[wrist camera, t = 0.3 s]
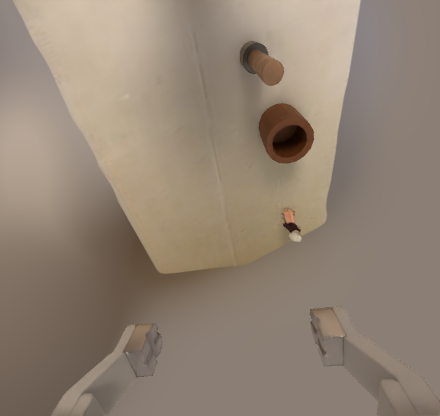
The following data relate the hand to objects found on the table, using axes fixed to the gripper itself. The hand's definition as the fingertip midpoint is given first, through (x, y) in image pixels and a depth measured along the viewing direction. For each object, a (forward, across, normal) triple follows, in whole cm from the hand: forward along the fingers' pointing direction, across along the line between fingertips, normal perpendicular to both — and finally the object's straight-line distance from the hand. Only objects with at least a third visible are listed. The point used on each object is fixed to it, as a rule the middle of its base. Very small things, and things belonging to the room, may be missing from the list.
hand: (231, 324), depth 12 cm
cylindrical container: (+52, -12, -6) cm, 54 cm away
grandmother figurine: (+61, -14, +22) cm, 67 cm away
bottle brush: (+47, -7, -22) cm, 52 cm away
